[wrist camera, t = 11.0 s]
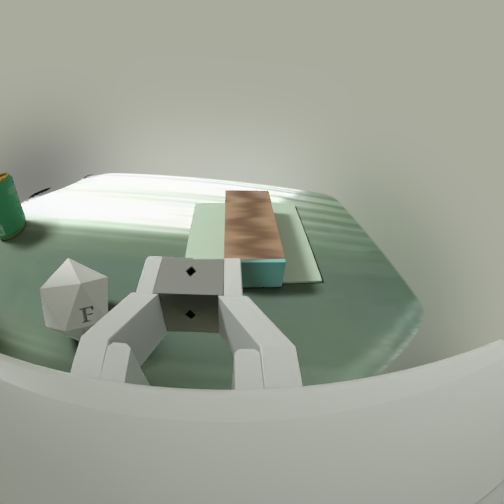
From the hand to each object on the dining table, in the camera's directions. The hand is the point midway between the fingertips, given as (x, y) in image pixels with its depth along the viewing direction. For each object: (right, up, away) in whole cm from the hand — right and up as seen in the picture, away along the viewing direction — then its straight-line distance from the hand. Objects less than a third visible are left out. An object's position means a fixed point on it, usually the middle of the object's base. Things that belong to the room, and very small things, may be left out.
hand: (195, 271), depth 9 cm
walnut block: (+2, -2, +24) cm, 24 cm away
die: (-18, -8, +19) cm, 27 cm away
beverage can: (-49, +5, +33) cm, 59 cm away
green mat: (+1, +3, +34) cm, 34 cm away
